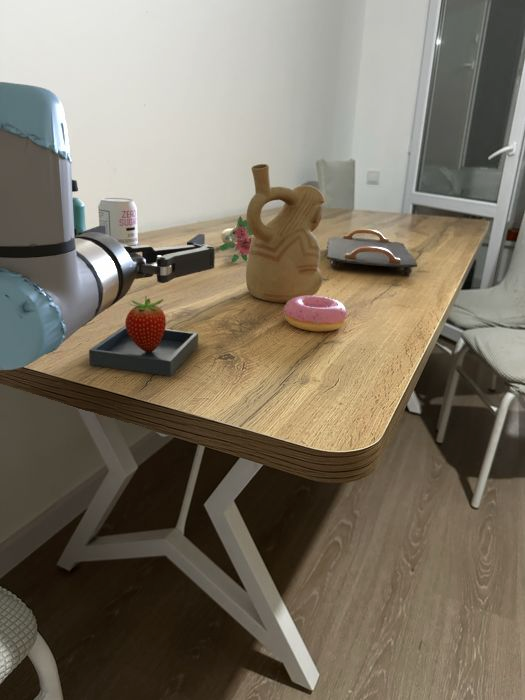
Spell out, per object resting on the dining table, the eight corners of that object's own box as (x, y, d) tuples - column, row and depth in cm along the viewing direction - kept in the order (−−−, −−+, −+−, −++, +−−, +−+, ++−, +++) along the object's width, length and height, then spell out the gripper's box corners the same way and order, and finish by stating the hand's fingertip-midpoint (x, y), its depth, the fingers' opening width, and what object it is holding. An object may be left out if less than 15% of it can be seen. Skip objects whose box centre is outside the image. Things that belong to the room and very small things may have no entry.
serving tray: (418, 279, 126) (423, 253, 124) (323, 270, 128) (326, 245, 126) (400, 250, 162) (403, 230, 160) (326, 244, 164) (328, 224, 162)
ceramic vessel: (341, 297, 106) (356, 169, 97) (274, 313, 93) (285, 167, 84) (281, 279, 117) (290, 163, 108) (214, 292, 104) (218, 160, 95)
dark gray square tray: (89, 364, 68) (88, 350, 67) (127, 336, 78) (126, 323, 77) (170, 376, 66) (170, 361, 65) (198, 346, 76) (198, 332, 75)
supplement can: (109, 261, 124) (106, 196, 118) (143, 264, 123) (141, 199, 118) (95, 268, 116) (91, 200, 111) (131, 271, 116) (129, 202, 110)
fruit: (147, 361, 68) (146, 303, 65) (119, 352, 71) (116, 295, 68) (174, 350, 73) (174, 295, 70) (147, 341, 75) (145, 288, 72)
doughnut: (359, 328, 88) (362, 305, 87) (310, 338, 82) (312, 313, 81) (317, 311, 96) (319, 289, 95) (269, 319, 90) (271, 295, 89)
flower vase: (239, 271, 155) (267, 272, 122) (201, 258, 152) (218, 256, 118) (251, 233, 154) (283, 224, 121) (212, 219, 151) (233, 206, 117)
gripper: (-33, 302, 52) (65, 259, 72) (209, 326, 50) (242, 275, 70) (-45, 226, 49) (60, 204, 69) (211, 248, 47) (245, 218, 67)
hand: (152, 240), depth 69 cm, fingers open, 13 cm apart
